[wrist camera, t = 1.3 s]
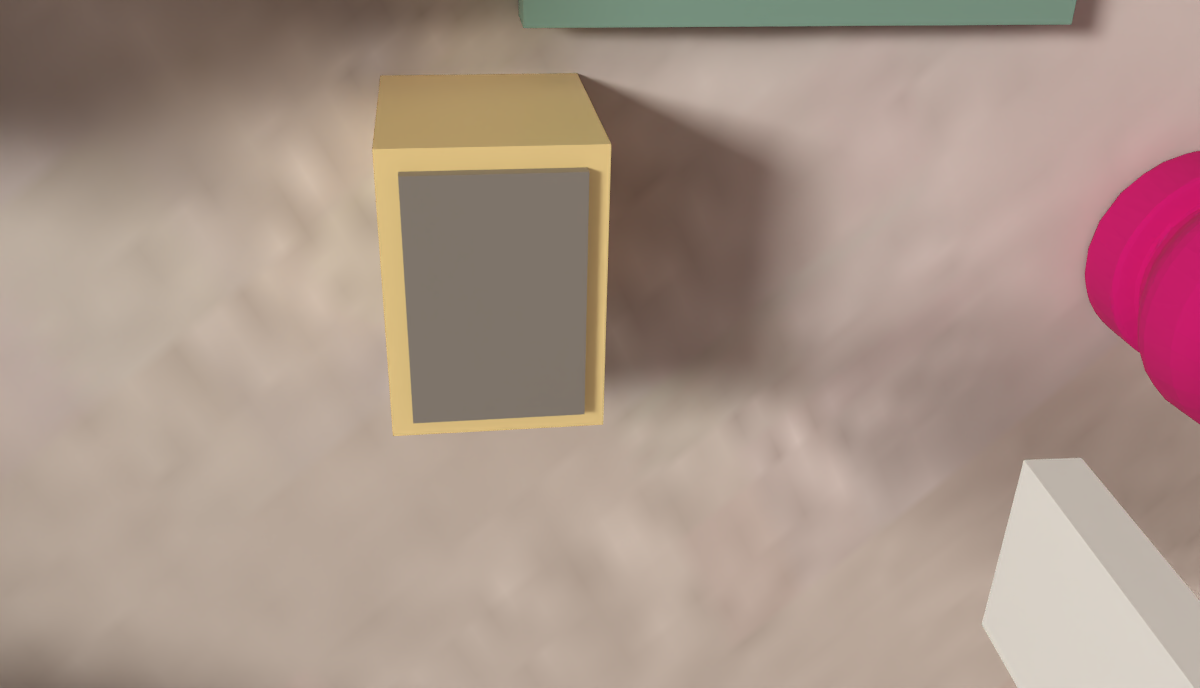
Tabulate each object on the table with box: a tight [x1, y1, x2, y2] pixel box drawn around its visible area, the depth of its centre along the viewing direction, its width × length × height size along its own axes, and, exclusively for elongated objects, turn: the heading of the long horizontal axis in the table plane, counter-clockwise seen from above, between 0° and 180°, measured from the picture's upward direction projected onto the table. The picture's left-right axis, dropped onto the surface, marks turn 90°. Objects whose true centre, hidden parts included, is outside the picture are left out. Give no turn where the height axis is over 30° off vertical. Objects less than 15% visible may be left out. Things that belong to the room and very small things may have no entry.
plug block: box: [372, 73, 611, 436], centre depth 28 cm, size 7×5×6 cm
